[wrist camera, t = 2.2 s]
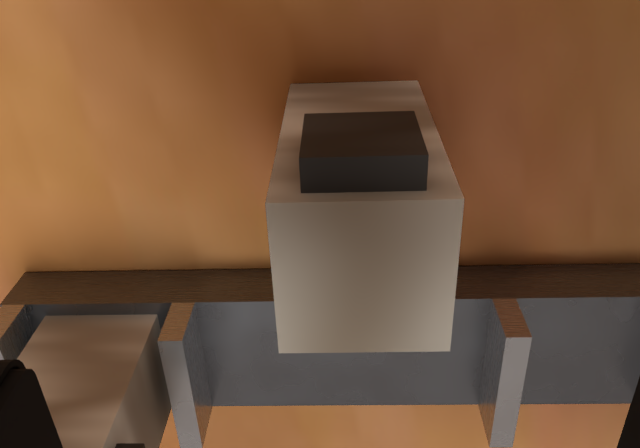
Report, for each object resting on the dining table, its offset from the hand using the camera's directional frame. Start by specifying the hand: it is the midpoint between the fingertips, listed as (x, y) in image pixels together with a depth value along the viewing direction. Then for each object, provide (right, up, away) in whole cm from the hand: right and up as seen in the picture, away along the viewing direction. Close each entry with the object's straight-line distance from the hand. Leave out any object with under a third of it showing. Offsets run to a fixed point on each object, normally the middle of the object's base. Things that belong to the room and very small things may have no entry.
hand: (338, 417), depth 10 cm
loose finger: (+1, +6, +11) cm, 12 cm away
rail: (+1, -1, +14) cm, 14 cm away
